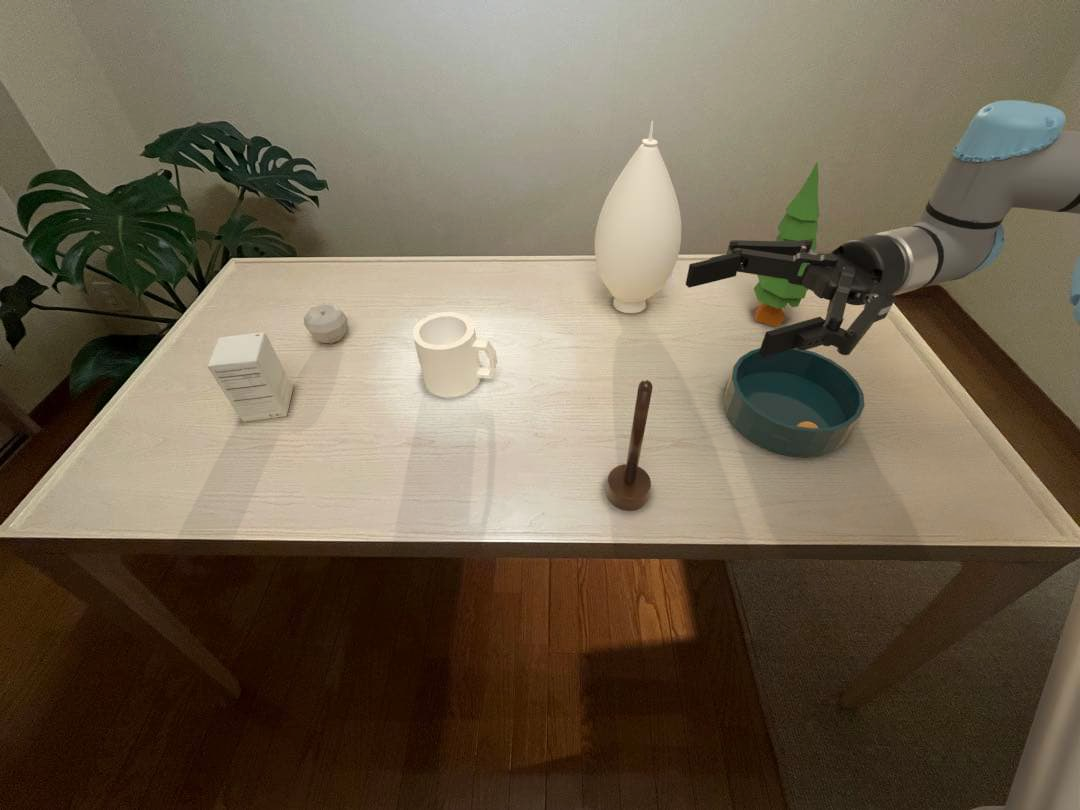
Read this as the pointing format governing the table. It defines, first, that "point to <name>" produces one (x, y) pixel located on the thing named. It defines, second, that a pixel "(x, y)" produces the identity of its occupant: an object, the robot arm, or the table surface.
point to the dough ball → (807, 425)
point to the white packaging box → (251, 376)
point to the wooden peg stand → (632, 461)
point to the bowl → (793, 402)
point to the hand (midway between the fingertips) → (723, 307)
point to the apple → (326, 323)
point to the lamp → (638, 230)
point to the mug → (451, 354)
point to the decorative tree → (792, 228)
